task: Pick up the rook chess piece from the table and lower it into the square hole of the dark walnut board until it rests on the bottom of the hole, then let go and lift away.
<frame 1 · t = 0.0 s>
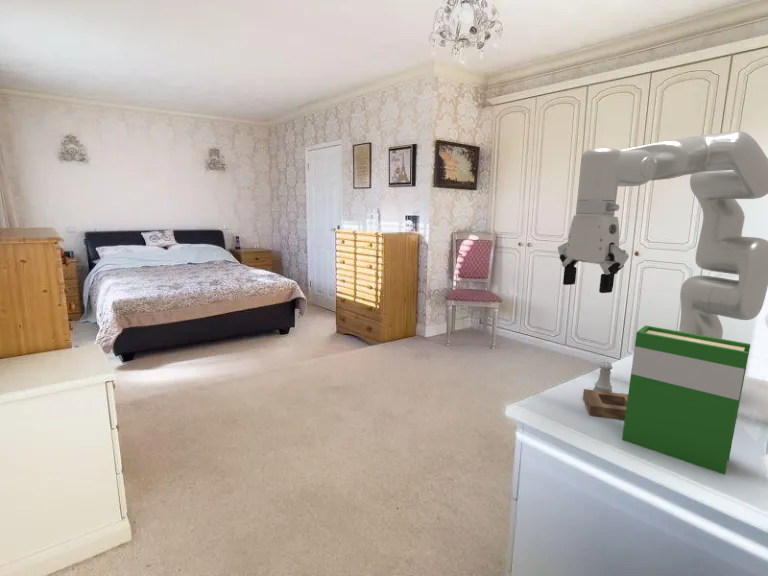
hand: (586, 288, 97), 31 cm above the table, tool pointing down, fingers open, 9 cm apart
rook chess piece: (602, 391, 119), on the table
hardback book: (673, 450, 91), on the table
socket board: (621, 410, 108), on the table
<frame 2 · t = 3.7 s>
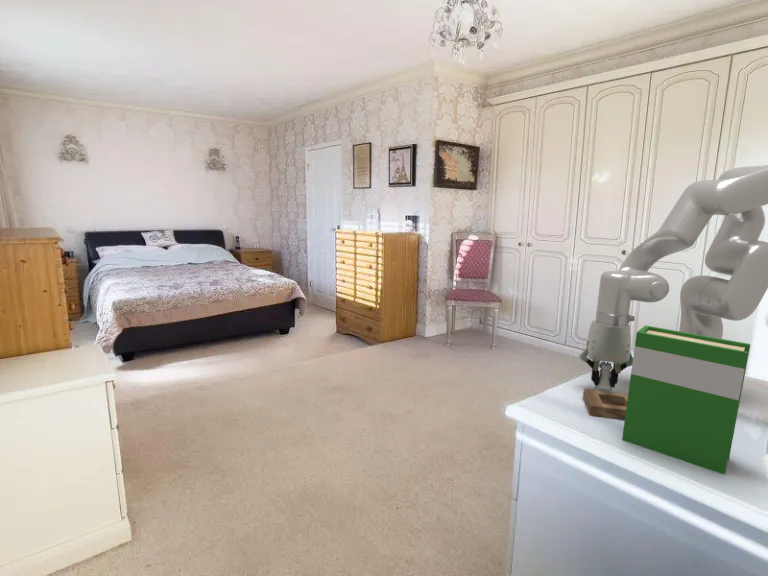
hand: (603, 383, 119), 2 cm above the table, tool pointing down, fingers closed on rook chess piece, 3 cm apart
rook chess piece: (602, 391, 119), on the table, touching gripper
everything else where it was.
when the fingers open (3 cm above the table, at t = 8.7 s): rook chess piece drops 1 cm, resting in socket board.
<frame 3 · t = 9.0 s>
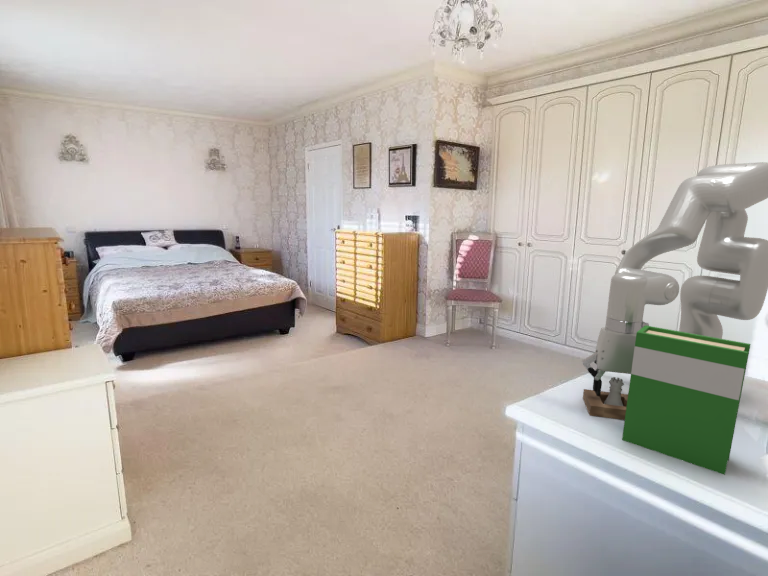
hand: (614, 395, 108), 4 cm above the table, tool pointing down, fingers open, 7 cm apart
rook chess piece: (612, 410, 108), resting in socket board
everything else where it was.
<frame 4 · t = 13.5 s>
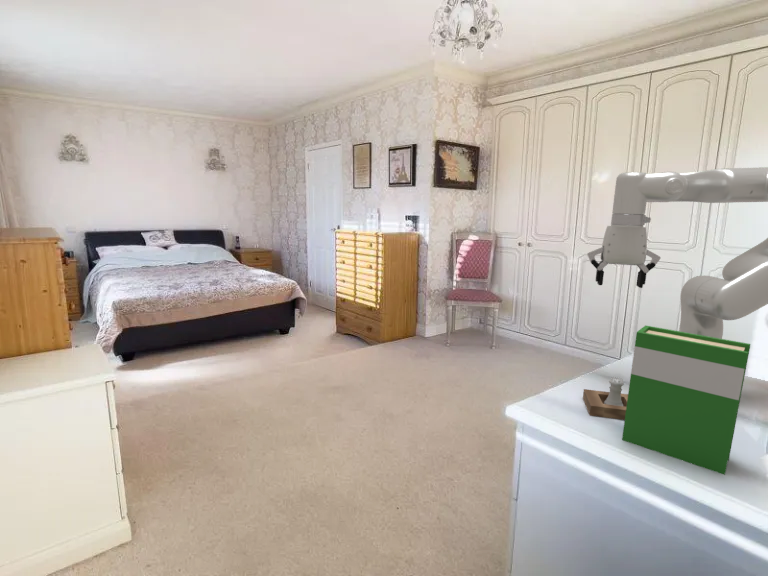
hand: (619, 285, 118), 28 cm above the table, tool pointing down, fingers open, 9 cm apart
nothing on the table moved.
at the end: rook chess piece 0.2 cm from the target spot on the socket board, point 0.0 cm above the socket board's base; rook chess piece tilted 0°; the gripper is holding nothing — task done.
